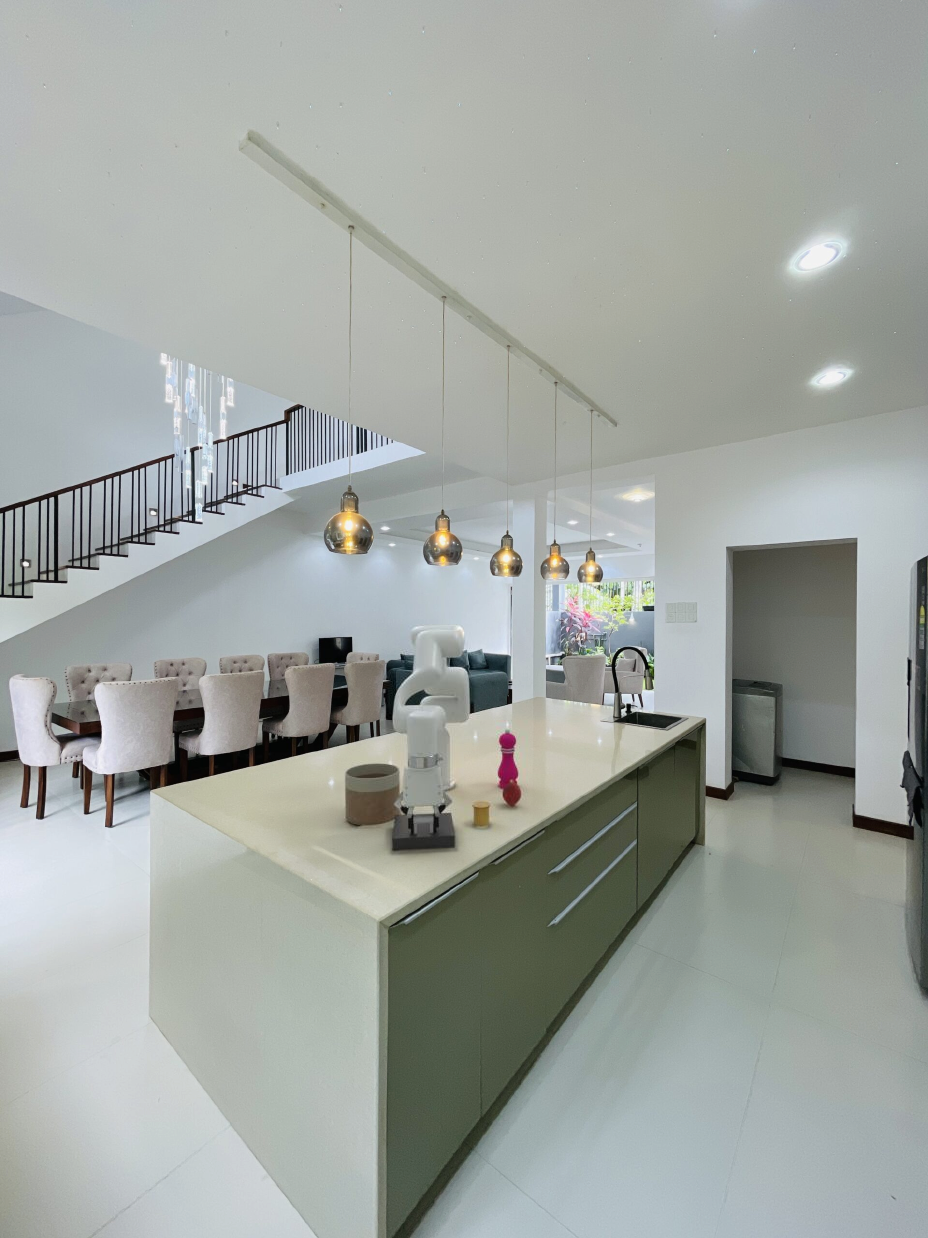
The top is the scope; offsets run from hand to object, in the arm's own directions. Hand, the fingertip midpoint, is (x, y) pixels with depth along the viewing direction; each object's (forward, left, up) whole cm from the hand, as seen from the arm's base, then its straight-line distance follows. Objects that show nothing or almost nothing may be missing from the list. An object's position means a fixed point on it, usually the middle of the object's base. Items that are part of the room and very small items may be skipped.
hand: (423, 830), depth 132 cm
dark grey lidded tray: (-3, +3, -4) cm, 6 cm away
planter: (-26, +5, -4) cm, 27 cm away
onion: (+1, +38, -4) cm, 38 cm away
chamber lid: (-3, +3, -1) cm, 4 cm away
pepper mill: (-11, +53, -4) cm, 54 cm away
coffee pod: (+3, +20, -4) cm, 21 cm away
